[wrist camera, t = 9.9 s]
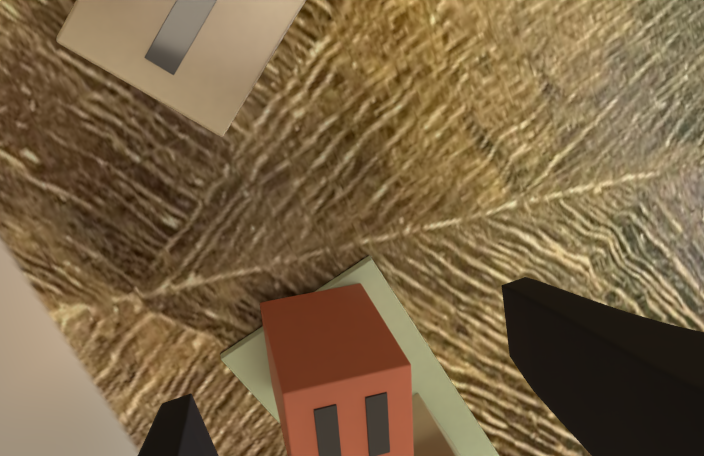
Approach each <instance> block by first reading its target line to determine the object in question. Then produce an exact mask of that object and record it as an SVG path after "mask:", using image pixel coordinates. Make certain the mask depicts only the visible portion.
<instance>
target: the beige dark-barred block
mask: <svg viewBox="0 0 704 456" xmlns="http://www.w3.org/2000/svg"><path fill="white" fill-rule="evenodd" d="M305 1H306V0H76V2H75V3H74V5H73V7H72V9H71V11H70V13H69V15H68V17H67V19H66V21H65V22H64V24H63V26H62V28H61V30H60V32H59V34H58V36H57V39H56V41H57V42H58V43H59V44H61V45H62V46H64V47H66V48H67V49H69V50H71V51H73V52H74V53H76V54H78V55H80V56H81V57H83V58H85V59H87V60H88V61H90V62H92V63H93V64H95V65H97V66H99V67H100V68H102V69H104V70H106V71H107V72H109V73H111V74H113V75H114V76H116V77H118V78H119V79H121V80H123V81H125V82H126V83H128V84H130V85H132V86H133V87H135V88H137V89H139V90H140V91H142V92H144V93H145V94H147V95H149V96H151V97H152V98H154V99H156V100H158V101H159V102H161V103H163V104H165V105H166V106H168V107H170V108H171V109H173V110H175V111H177V112H178V113H180V114H182V115H184V116H185V117H187V118H189V119H191V120H192V121H194V122H196V123H197V124H199V125H201V126H203V127H204V128H206V129H208V130H210V131H211V132H213V133H215V134H217V135H218V136H224V135H225V133H226V131H227V130H228V128H229V127H230V125H231V123H232V122H233V120H234V118H235V117H236V115H237V113H238V112H239V110H240V108H241V107H242V105H243V103H244V102H245V100H246V98H247V97H248V95H249V94H250V92H251V90H252V89H253V87H254V85H255V84H256V82H257V80H258V79H259V77H260V75H261V74H262V72H263V70H264V69H265V67H266V65H267V64H268V62H269V61H270V59H271V57H272V56H273V54H274V52H275V51H276V49H277V47H278V46H279V44H280V42H281V41H282V39H283V37H284V36H285V34H286V32H287V31H288V29H289V28H290V26H291V24H292V23H293V21H294V19H295V18H296V16H297V14H298V13H299V11H300V9H301V8H302V6H303V4H304V3H305Z"/></svg>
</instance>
